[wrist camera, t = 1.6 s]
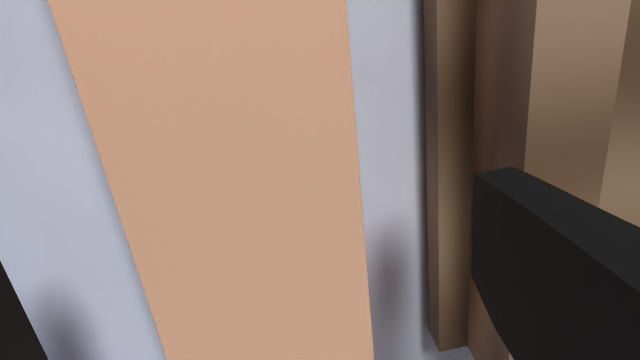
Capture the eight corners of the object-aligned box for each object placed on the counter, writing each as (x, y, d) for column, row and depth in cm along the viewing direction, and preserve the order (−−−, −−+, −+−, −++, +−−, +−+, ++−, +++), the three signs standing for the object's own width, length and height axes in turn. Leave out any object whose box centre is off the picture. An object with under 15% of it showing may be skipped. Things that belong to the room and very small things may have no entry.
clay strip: (354, 360, 17) (381, 456, 14) (209, 390, 16) (211, 494, 14) (289, -262, 10) (321, -295, 7) (28, -234, 9) (-39, -258, 7)
